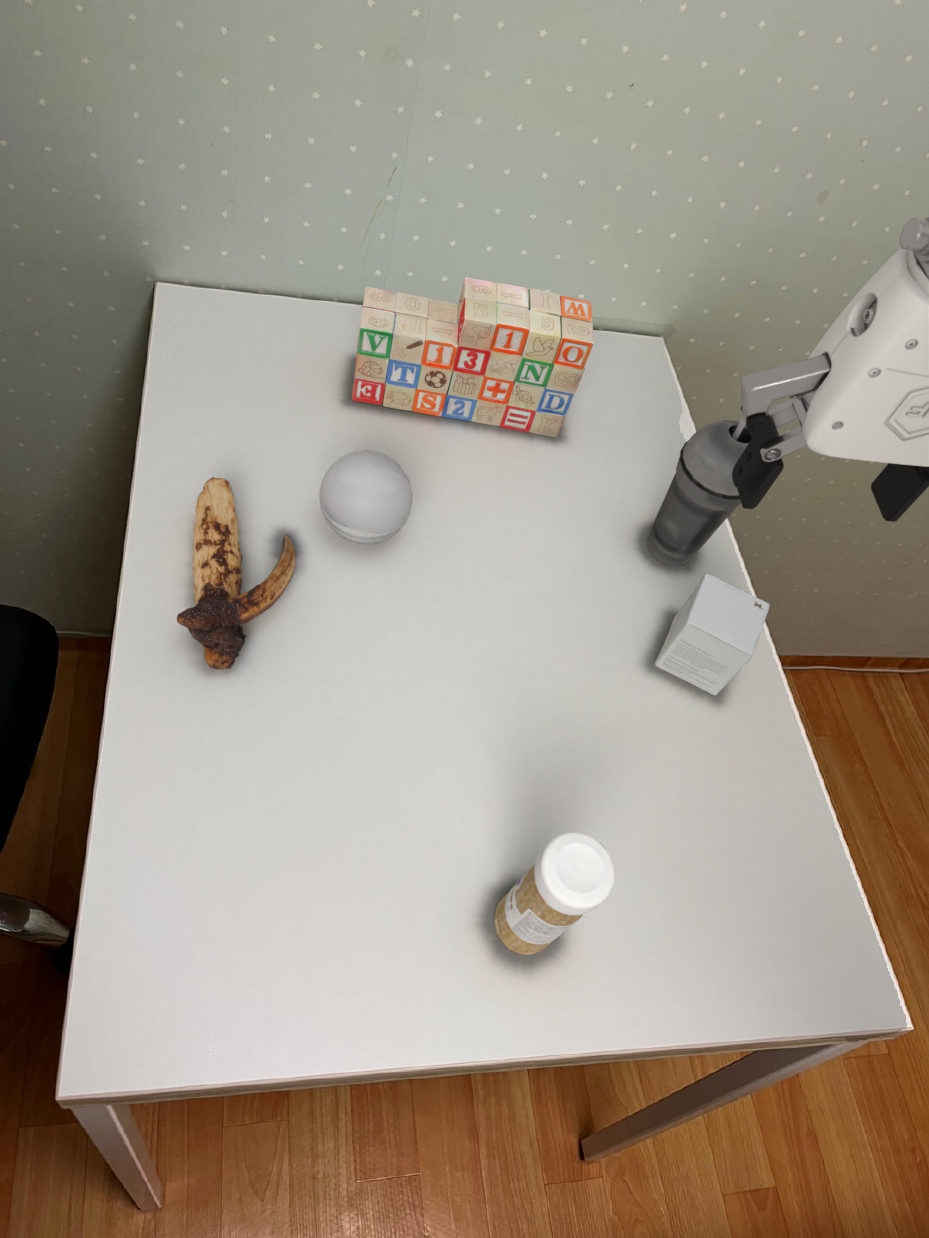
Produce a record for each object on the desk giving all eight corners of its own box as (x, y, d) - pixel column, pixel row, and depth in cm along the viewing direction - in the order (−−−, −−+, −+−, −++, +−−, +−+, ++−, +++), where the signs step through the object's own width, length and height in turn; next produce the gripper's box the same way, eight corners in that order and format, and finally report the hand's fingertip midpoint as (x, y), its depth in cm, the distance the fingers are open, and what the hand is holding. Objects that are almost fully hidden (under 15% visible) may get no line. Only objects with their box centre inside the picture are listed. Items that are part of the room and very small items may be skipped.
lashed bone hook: (300, 675, 69) (291, 497, 78) (305, 646, 65) (294, 463, 74) (178, 678, 67) (182, 494, 76) (175, 648, 63) (179, 458, 72)
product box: (673, 616, 79) (706, 569, 73) (734, 647, 78) (773, 603, 72) (652, 666, 76) (685, 621, 70) (715, 698, 75) (755, 656, 69)
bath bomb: (369, 479, 81) (379, 417, 74) (424, 537, 78) (438, 478, 72) (299, 515, 77) (301, 453, 71) (353, 577, 75) (361, 518, 68)
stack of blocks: (349, 403, 86) (360, 299, 76) (356, 361, 89) (368, 255, 79) (558, 438, 89) (595, 342, 79) (557, 396, 92) (592, 299, 82)
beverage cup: (635, 572, 81) (729, 417, 64) (630, 513, 85) (717, 352, 68) (709, 583, 82) (819, 433, 65) (700, 524, 86) (802, 368, 69)
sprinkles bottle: (508, 879, 63) (559, 815, 52) (564, 910, 62) (628, 852, 51) (481, 936, 60) (529, 882, 49) (539, 969, 60) (601, 922, 49)
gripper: (859, 284, 37) (697, 534, 51) (1192, 332, 40) (954, 555, 54) (811, 186, 41) (673, 442, 55) (1117, 237, 44) (913, 467, 58)
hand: (813, 498), depth 55 cm, fingers open, 9 cm apart
